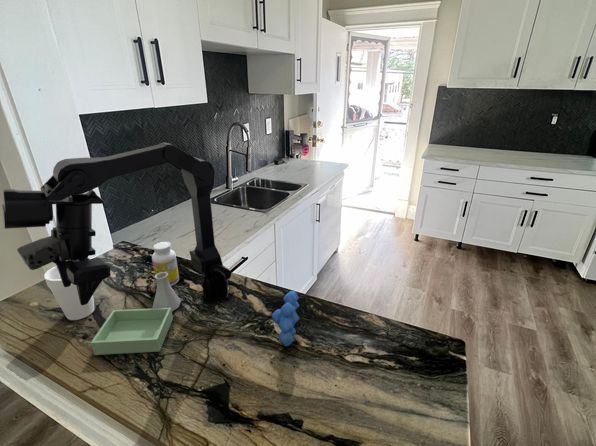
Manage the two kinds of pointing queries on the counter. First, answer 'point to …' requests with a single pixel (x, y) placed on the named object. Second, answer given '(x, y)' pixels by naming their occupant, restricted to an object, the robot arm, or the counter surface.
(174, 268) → the supplement bottle
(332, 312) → the counter surface
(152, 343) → the green tray
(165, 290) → the flask
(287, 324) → the grapes
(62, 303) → the foam cup
